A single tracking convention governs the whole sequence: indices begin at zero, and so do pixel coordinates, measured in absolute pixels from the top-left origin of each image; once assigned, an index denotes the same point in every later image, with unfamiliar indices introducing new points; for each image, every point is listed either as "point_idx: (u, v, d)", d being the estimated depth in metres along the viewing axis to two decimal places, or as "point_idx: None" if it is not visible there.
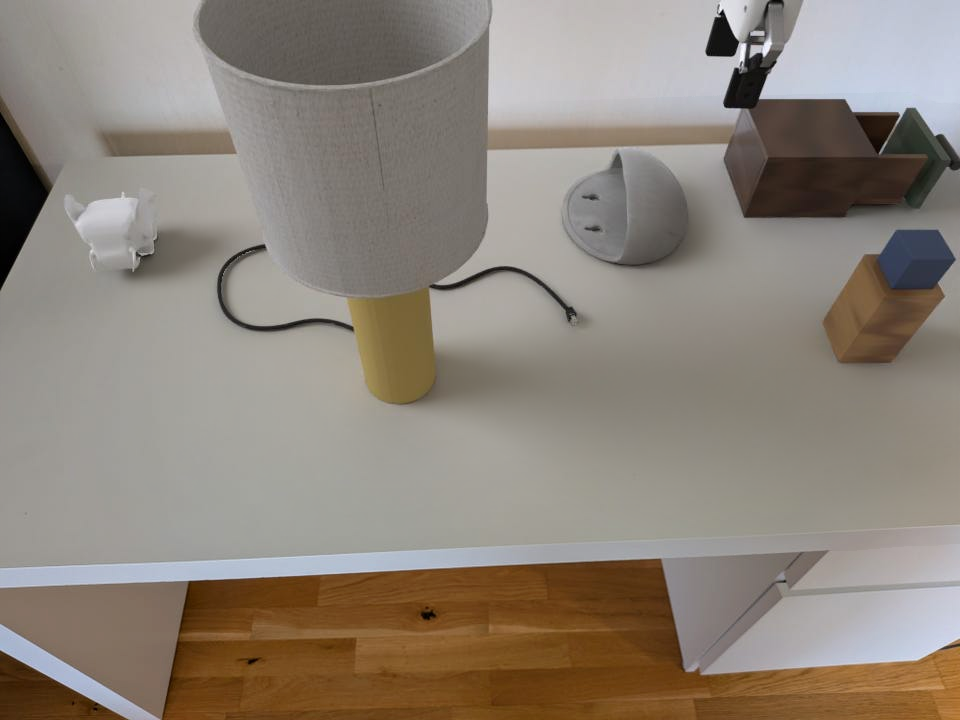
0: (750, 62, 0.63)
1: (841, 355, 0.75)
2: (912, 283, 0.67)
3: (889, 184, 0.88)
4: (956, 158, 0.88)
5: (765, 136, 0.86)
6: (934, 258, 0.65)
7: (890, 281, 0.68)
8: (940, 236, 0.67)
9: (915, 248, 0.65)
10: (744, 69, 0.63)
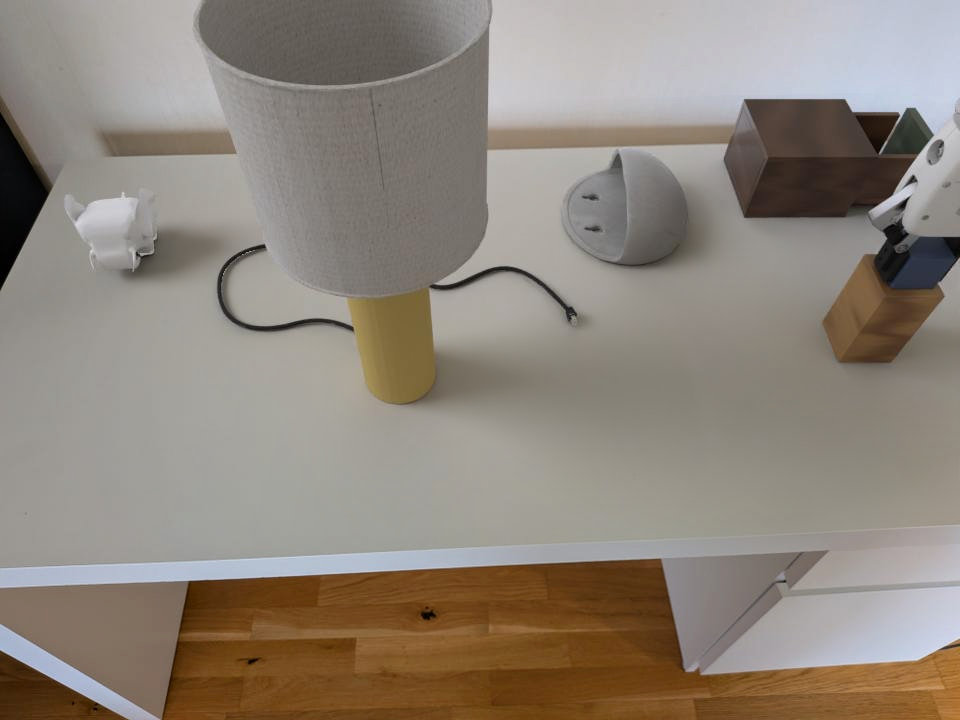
0: None
1: (841, 355, 0.75)
2: (912, 283, 0.67)
3: (889, 184, 0.88)
4: None
5: (765, 136, 0.86)
6: (934, 258, 0.65)
7: None
8: None
9: (915, 248, 0.65)
10: None
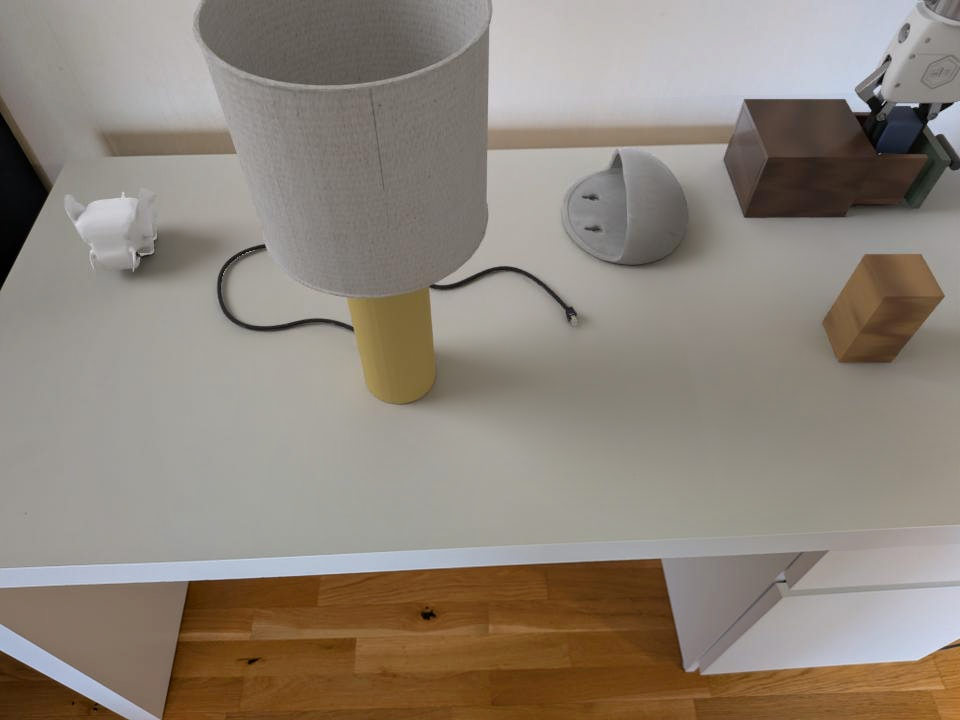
0: None
1: (841, 355, 0.75)
2: (890, 148, 0.87)
3: (889, 184, 0.88)
4: (956, 158, 0.88)
5: (765, 136, 0.86)
6: (906, 124, 0.84)
7: (873, 147, 0.88)
8: (911, 110, 0.86)
9: (891, 118, 0.85)
10: None
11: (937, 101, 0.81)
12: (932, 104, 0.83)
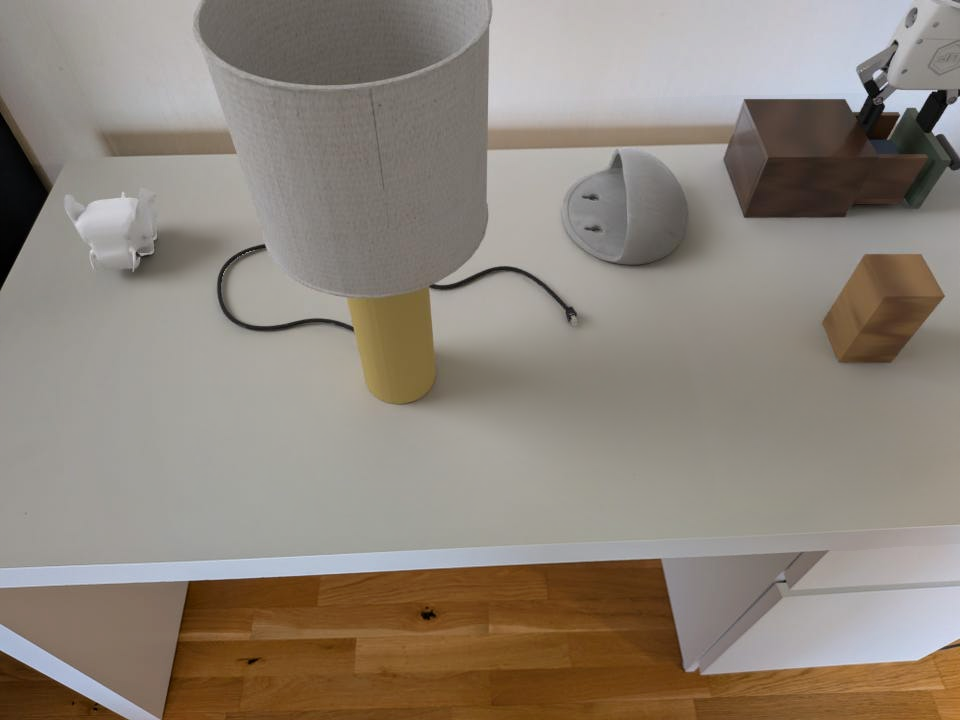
0: None
1: (841, 355, 0.75)
2: None
3: (889, 184, 0.88)
4: (956, 158, 0.88)
5: (765, 136, 0.86)
6: None
7: None
8: (892, 144, 0.90)
9: None
10: None
11: (944, 88, 0.80)
12: (947, 90, 0.81)
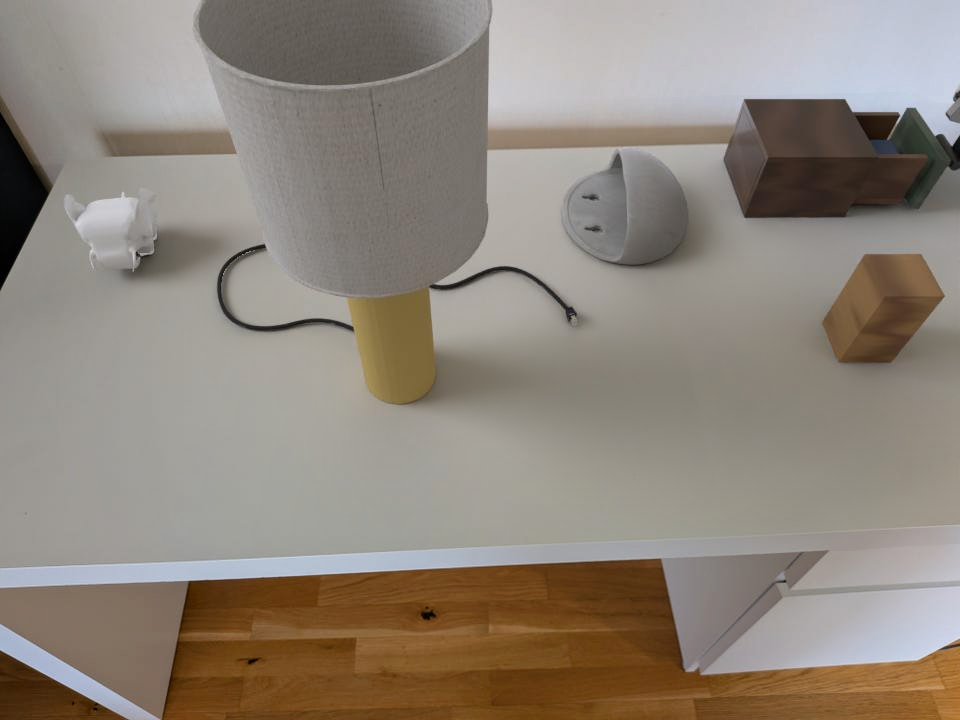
0: None
1: (841, 355, 0.75)
2: None
3: (889, 184, 0.88)
4: (956, 158, 0.88)
5: (765, 136, 0.86)
6: None
7: None
8: (891, 144, 0.90)
9: None
10: None
11: None
12: None
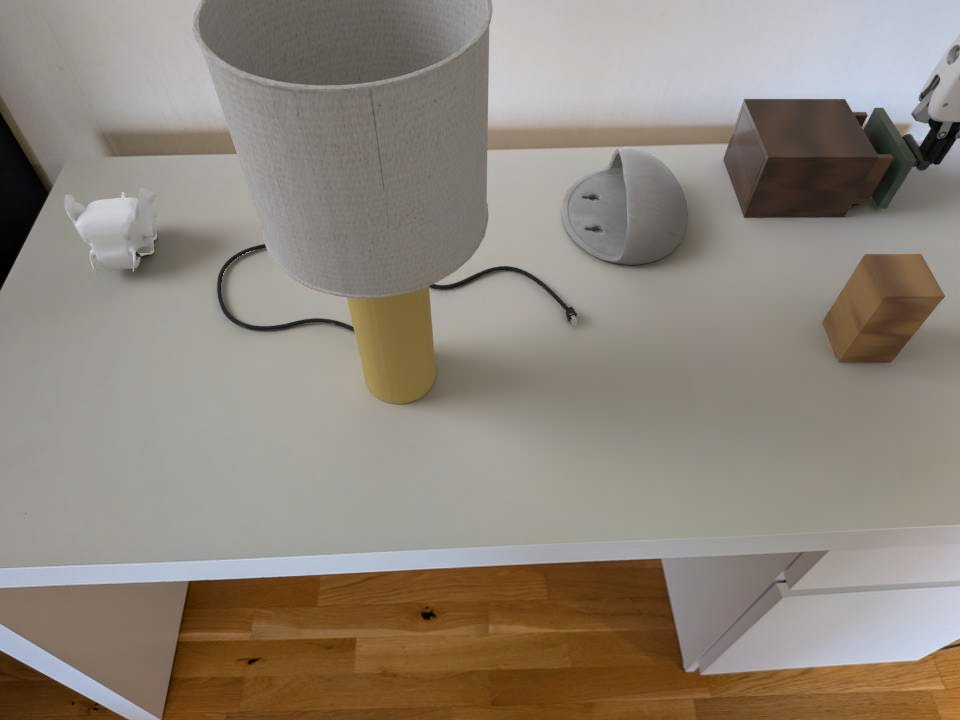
0: None
1: (841, 355, 0.75)
2: None
3: None
4: (923, 158, 0.88)
5: (765, 136, 0.86)
6: None
7: None
8: None
9: None
10: None
11: None
12: None
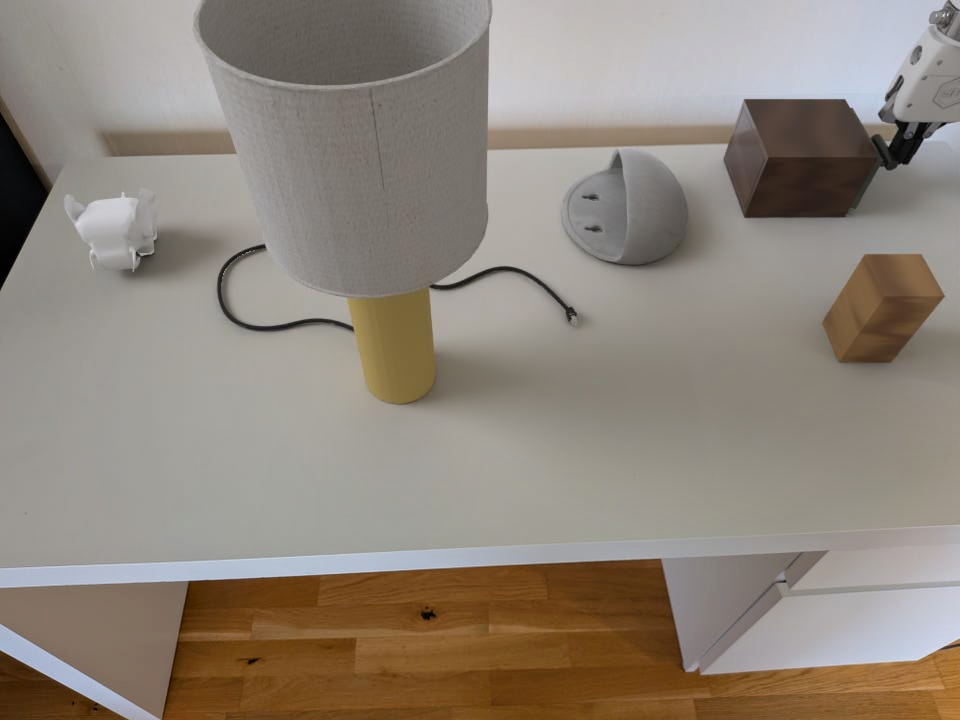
0: None
1: (841, 355, 0.75)
2: None
3: None
4: (891, 158, 0.88)
5: (765, 136, 0.86)
6: None
7: None
8: None
9: None
10: None
11: (948, 120, 0.83)
12: (933, 122, 0.85)
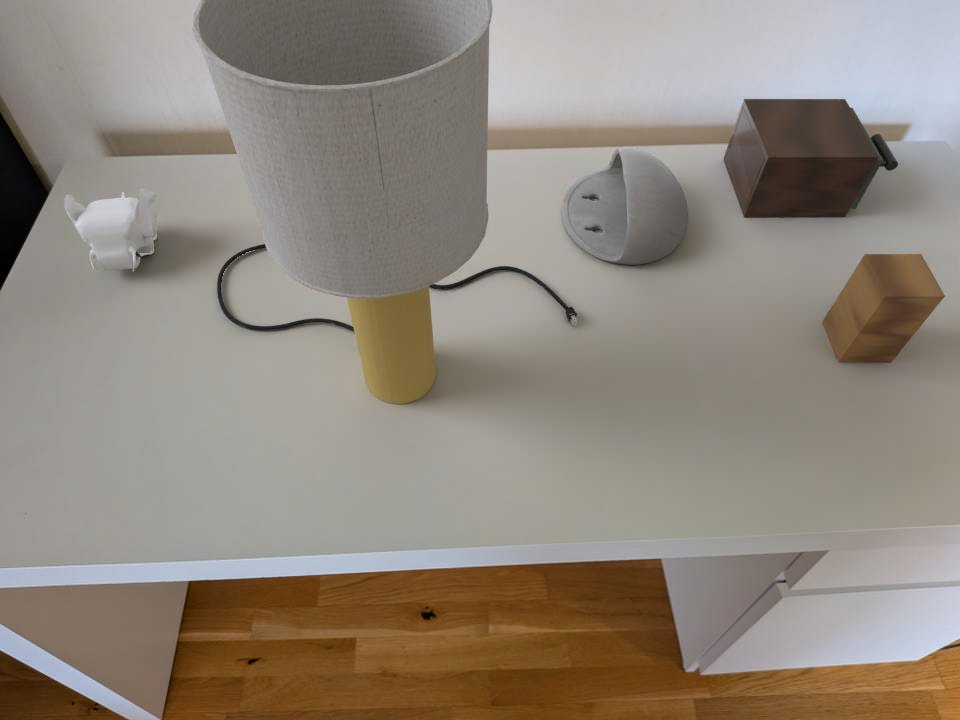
0: None
1: (841, 355, 0.75)
2: None
3: None
4: (891, 158, 0.88)
5: (765, 136, 0.86)
6: None
7: None
8: None
9: None
10: None
11: None
12: None
